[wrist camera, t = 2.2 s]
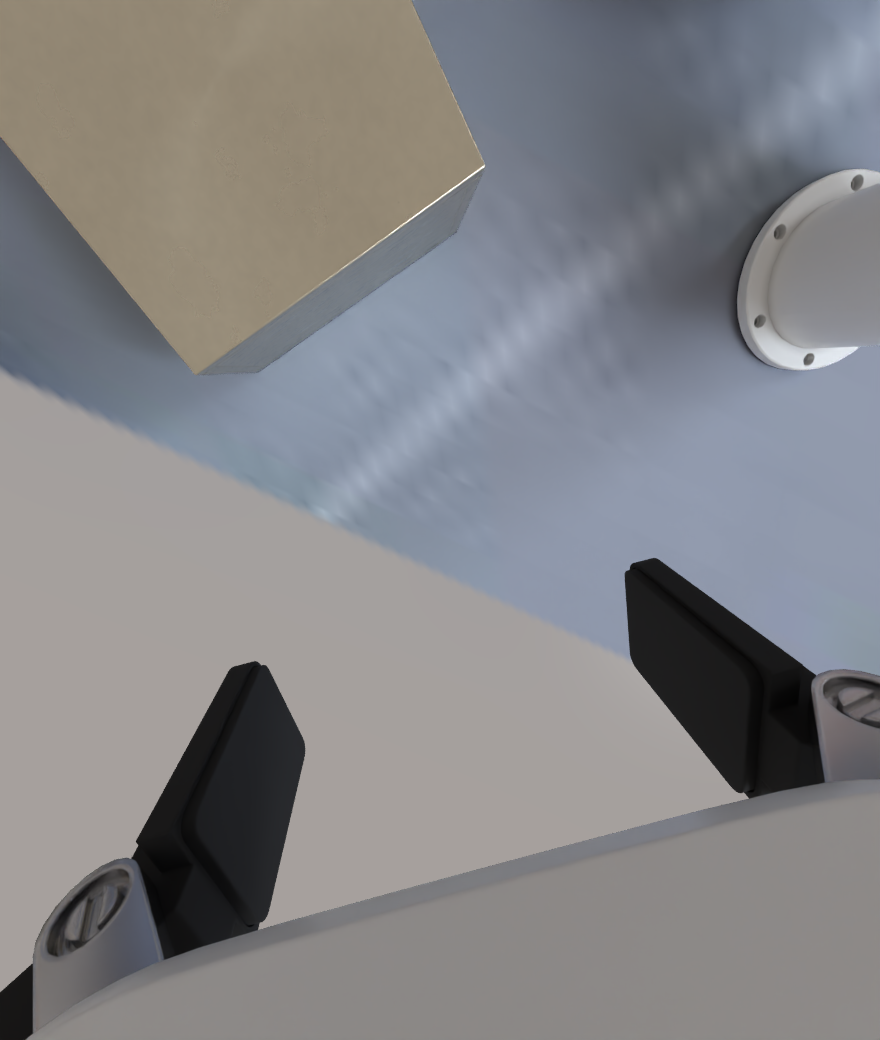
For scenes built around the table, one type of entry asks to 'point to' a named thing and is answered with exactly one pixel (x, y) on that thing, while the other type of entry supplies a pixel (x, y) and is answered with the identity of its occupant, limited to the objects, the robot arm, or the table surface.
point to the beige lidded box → (239, 155)
